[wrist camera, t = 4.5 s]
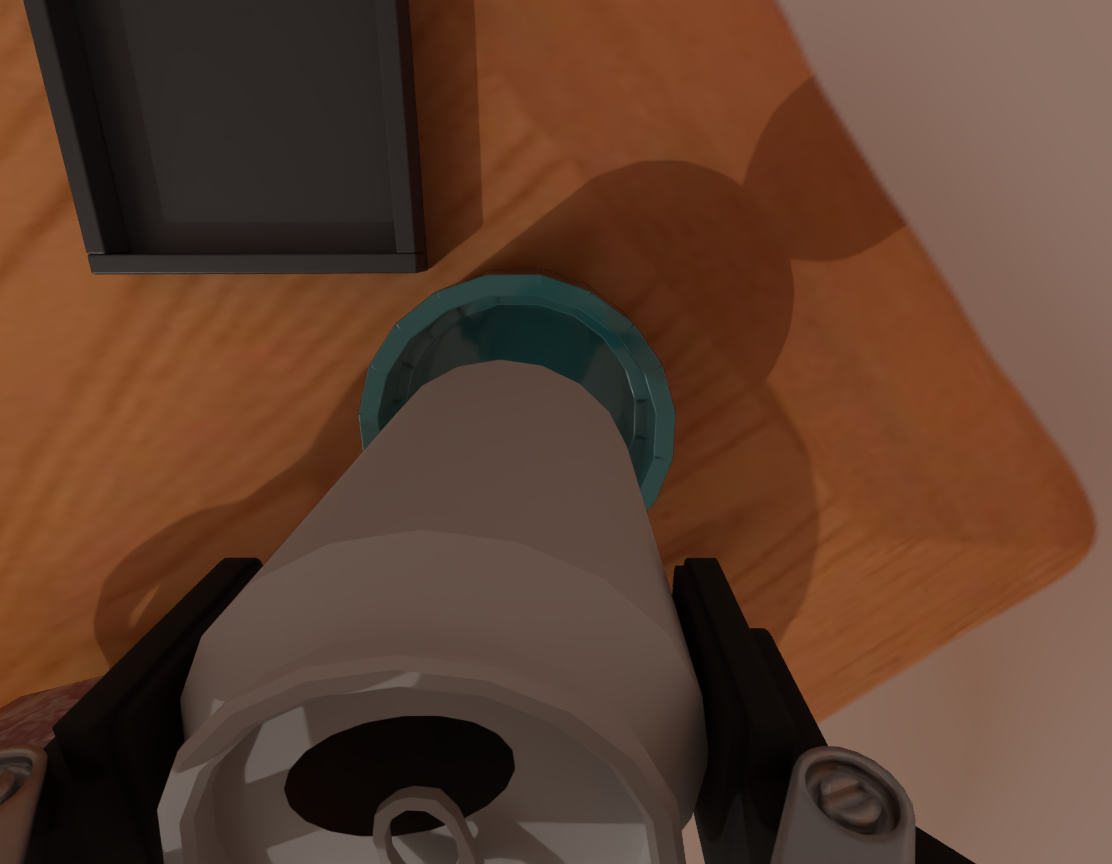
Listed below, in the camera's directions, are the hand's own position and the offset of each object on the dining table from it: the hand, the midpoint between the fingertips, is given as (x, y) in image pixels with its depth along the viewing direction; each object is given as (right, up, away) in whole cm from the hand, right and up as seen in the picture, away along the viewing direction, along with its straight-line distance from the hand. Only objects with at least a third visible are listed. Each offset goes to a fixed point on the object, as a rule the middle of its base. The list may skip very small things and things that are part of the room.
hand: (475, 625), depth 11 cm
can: (0, +2, +7) cm, 8 cm away
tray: (-11, +17, +13) cm, 24 cm away
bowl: (0, +5, +17) cm, 17 cm away
